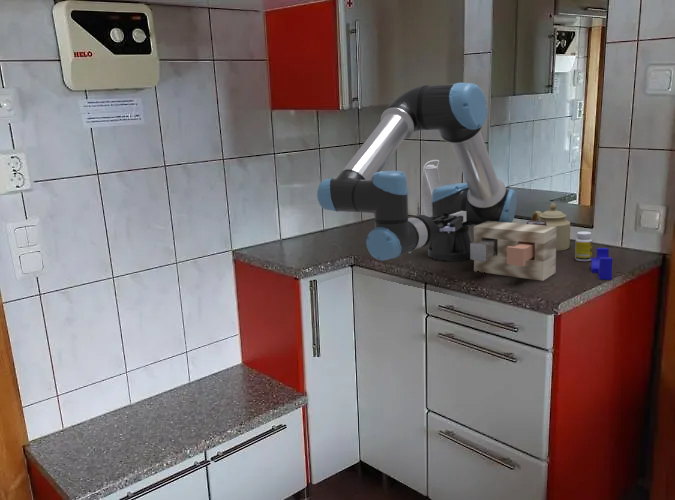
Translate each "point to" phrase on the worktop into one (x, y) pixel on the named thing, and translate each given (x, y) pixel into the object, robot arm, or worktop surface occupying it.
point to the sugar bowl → (556, 220)
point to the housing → (513, 236)
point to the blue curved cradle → (602, 264)
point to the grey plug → (483, 249)
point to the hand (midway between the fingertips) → (463, 216)
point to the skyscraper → (429, 187)
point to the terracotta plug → (520, 253)
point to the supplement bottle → (583, 246)
